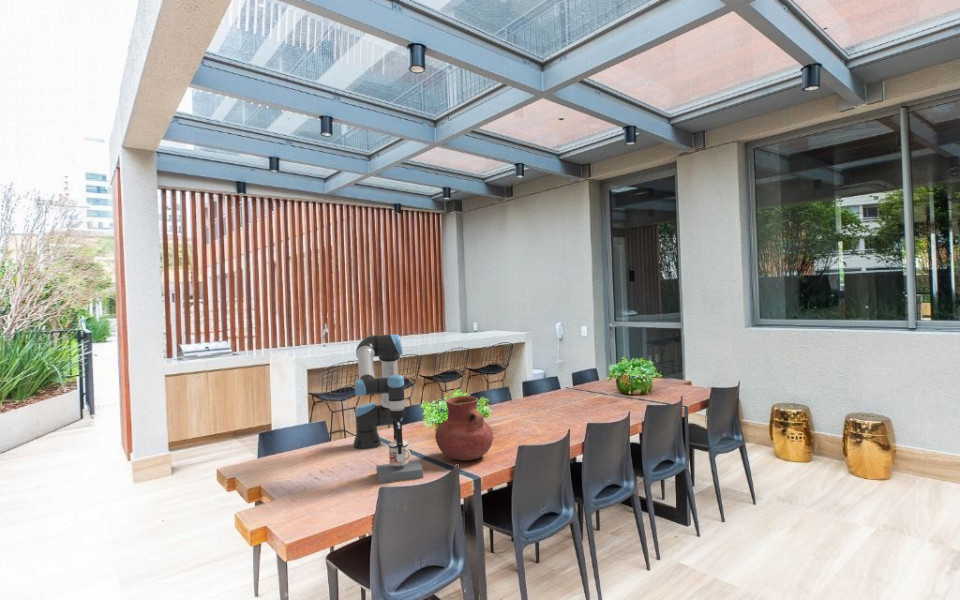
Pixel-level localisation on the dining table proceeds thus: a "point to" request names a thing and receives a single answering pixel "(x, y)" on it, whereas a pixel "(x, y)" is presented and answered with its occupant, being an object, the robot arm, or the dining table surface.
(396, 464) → the teacup with lid
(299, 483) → the dining table surface
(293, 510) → the dining table surface
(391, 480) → the serving riser
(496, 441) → the dining table surface
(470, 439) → the clay pot
